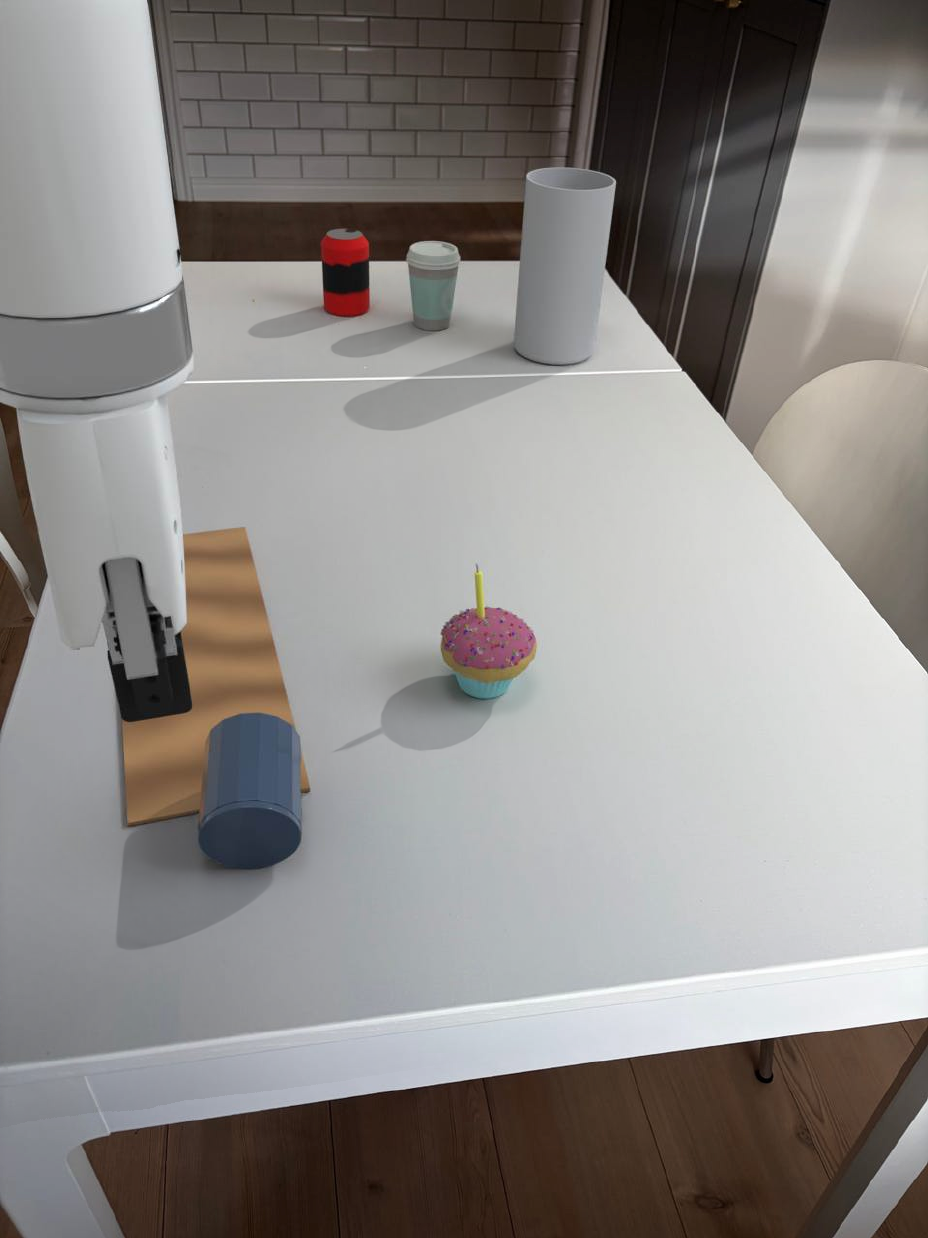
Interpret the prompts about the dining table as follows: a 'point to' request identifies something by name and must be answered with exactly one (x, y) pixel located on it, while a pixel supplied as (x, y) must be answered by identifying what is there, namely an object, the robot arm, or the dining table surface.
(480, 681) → the cupcake
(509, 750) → the dining table surface
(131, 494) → the robot arm
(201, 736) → the placemat
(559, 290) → the cylinder vase
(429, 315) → the coffee cup
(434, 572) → the dining table surface
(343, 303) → the soda can
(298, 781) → the cup
